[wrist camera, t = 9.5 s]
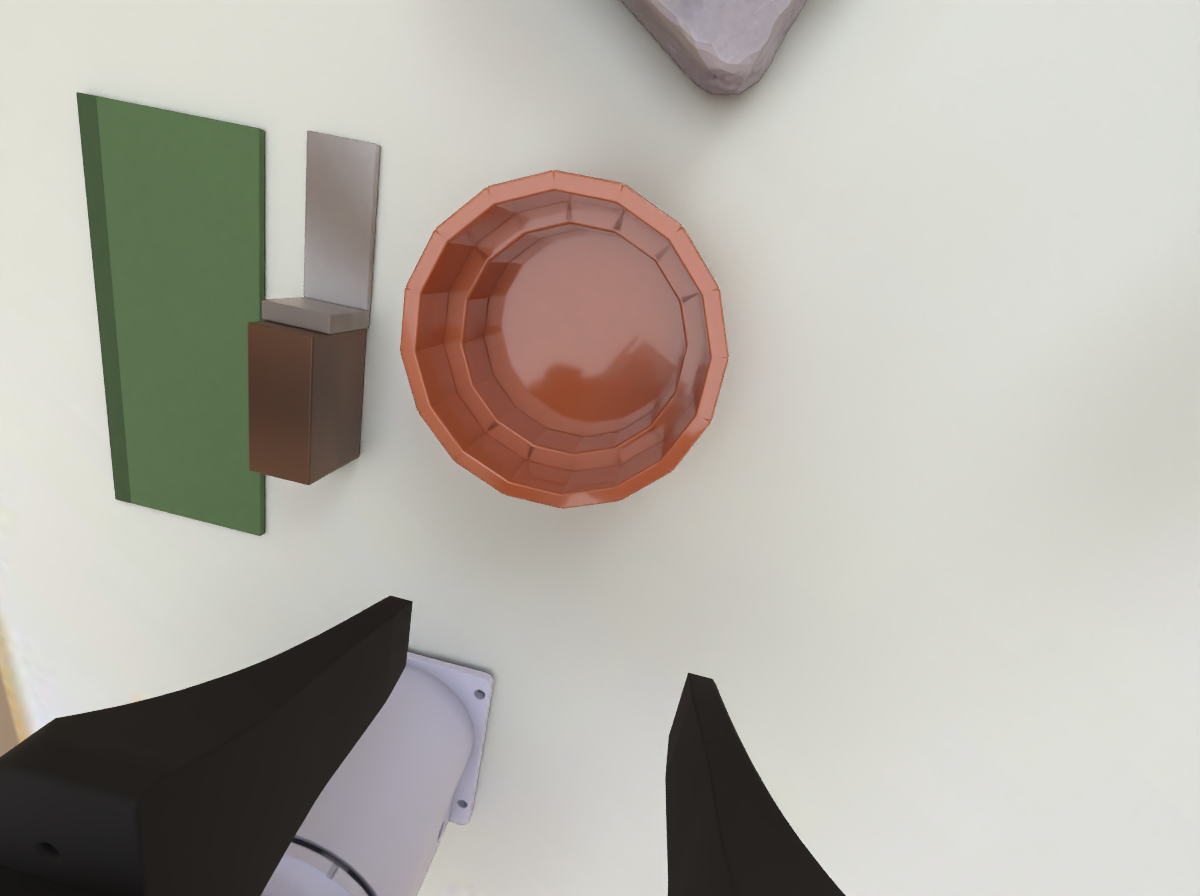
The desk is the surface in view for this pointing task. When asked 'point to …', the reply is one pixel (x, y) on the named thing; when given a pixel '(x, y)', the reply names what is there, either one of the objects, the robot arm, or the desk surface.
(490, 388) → the bowl
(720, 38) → the stone block
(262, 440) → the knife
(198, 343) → the green flat rectangular slab
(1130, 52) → the desk surface
